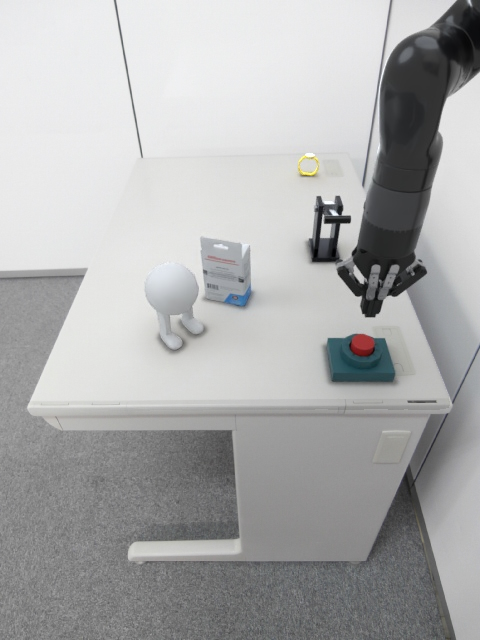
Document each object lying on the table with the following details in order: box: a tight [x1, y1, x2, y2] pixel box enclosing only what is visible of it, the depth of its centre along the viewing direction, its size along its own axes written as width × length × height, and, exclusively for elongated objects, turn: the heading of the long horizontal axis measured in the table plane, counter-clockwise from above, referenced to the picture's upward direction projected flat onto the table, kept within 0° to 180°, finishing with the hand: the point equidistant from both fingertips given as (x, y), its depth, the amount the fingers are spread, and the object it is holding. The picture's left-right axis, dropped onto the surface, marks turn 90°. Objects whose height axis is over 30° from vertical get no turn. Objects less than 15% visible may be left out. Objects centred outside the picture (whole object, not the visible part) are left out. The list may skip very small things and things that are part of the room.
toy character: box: [144, 261, 205, 351], centre depth 77 cm, size 9×9×15 cm
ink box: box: [199, 235, 252, 307], centre depth 85 cm, size 8×5×15 cm, turn 71°
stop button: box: [351, 333, 374, 357], centre depth 73 cm, size 4×4×2 cm
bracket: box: [307, 195, 344, 263], centre depth 96 cm, size 8×6×13 cm
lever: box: [322, 200, 352, 225], centre depth 89 cm, size 12×5×2 cm, turn 179°
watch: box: [297, 152, 320, 177], centre depth 128 cm, size 6×3×6 cm, turn 81°
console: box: [325, 333, 396, 383], centre depth 74 cm, size 10×8×4 cm
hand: (369, 313), depth 68 cm, fingers closed
